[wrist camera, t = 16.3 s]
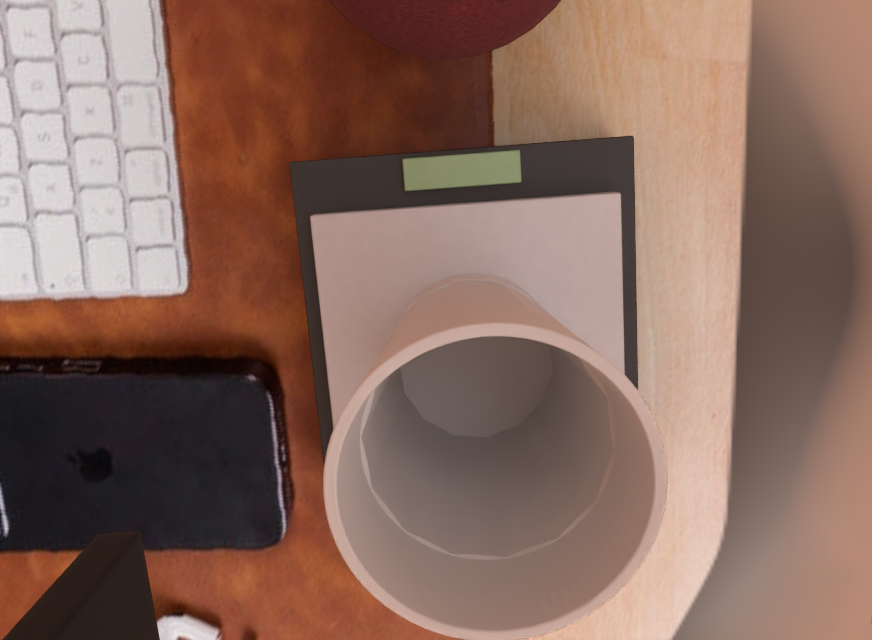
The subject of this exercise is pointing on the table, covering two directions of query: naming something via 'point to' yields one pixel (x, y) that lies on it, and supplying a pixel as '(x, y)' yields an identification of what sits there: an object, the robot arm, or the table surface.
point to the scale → (464, 245)
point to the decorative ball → (445, 23)
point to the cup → (493, 468)
